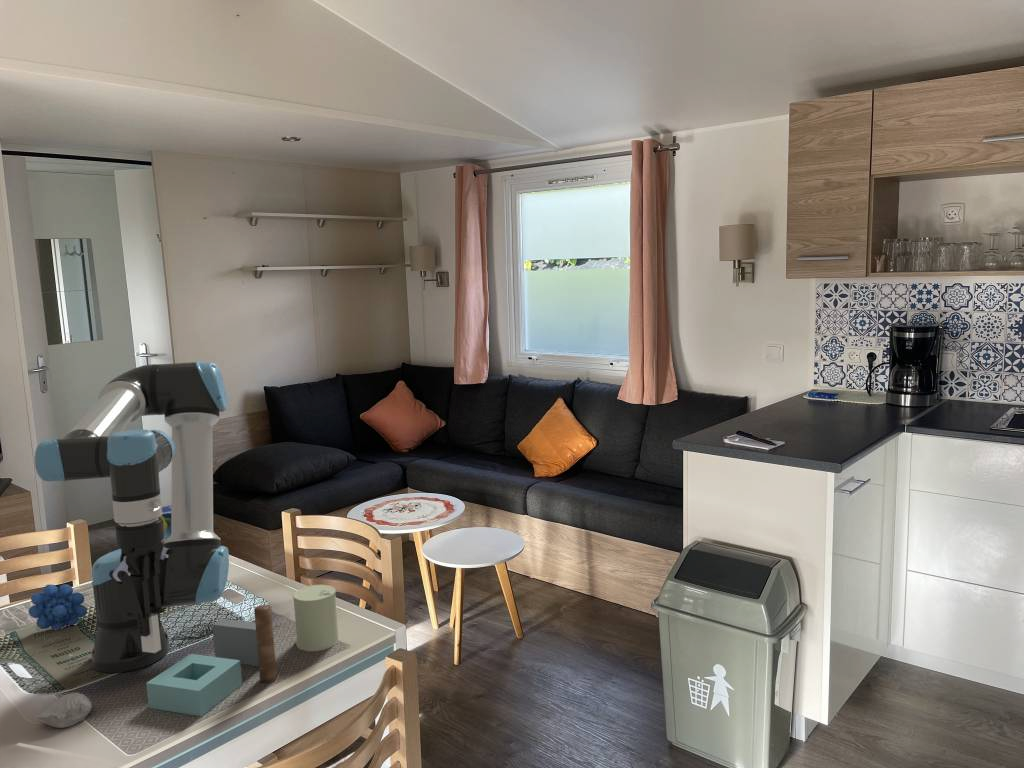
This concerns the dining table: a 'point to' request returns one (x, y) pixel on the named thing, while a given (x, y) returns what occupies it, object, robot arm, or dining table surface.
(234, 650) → the wall
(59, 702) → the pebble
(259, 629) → the dowel
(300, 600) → the can
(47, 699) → the dining table surface
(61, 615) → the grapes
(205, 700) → the block
